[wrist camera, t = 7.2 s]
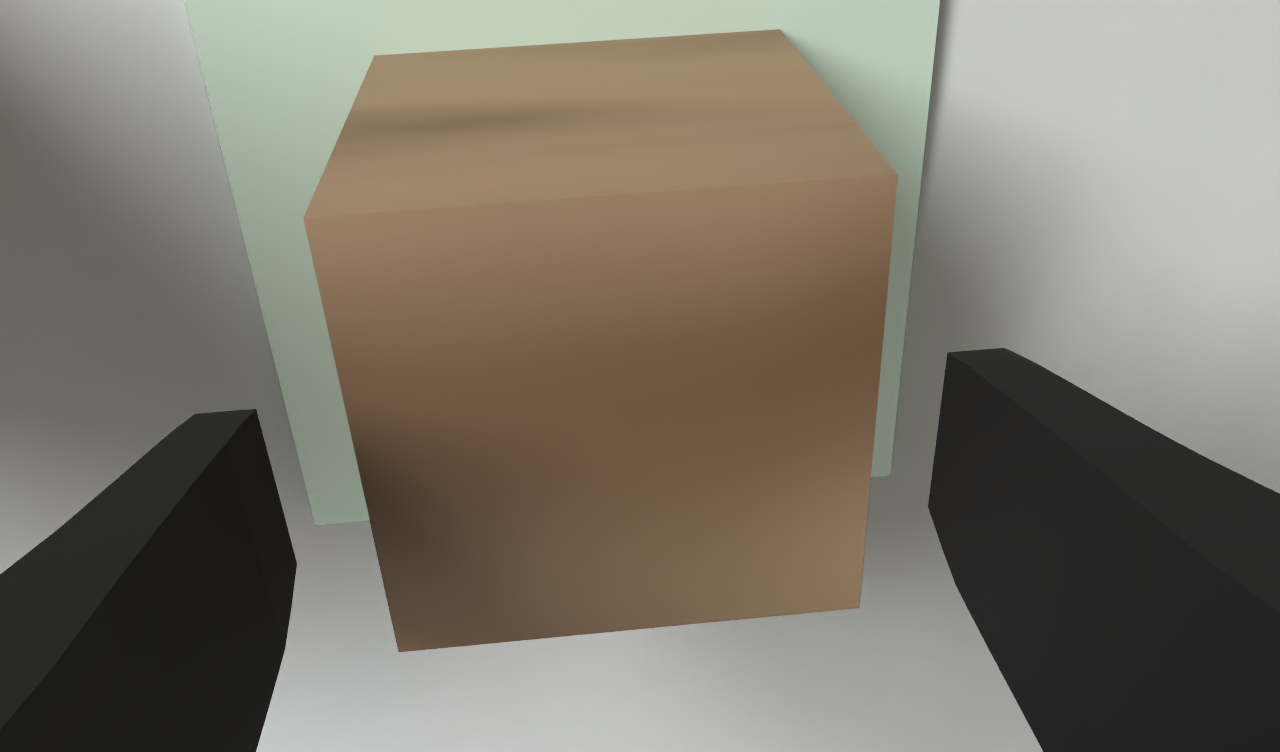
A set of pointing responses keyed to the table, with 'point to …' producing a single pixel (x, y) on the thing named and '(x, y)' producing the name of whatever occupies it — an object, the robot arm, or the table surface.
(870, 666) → the table surface
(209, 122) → the table surface
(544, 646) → the table surface
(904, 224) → the sage pad
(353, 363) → the walnut block
